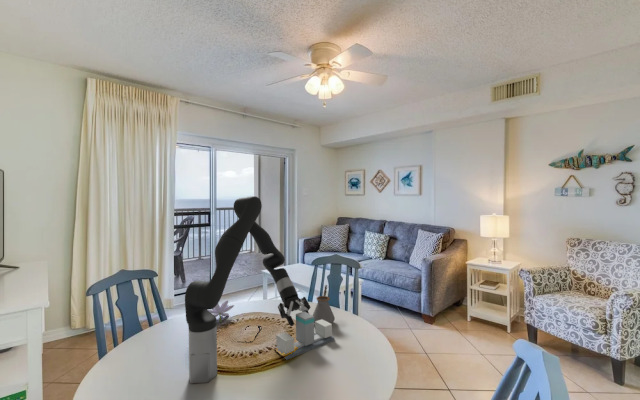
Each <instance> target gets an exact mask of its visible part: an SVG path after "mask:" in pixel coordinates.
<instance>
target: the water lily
mask: <svg viewBox="0 0 640 400" xmlns="http://www.w3.org/2000/svg"><path fill="white" fill-rule="evenodd" d="M228 303H229V300H225V301H224V302H223V303H221V304H219V303H218V304H217V305H216V307H214V308H213V309H207V310H208V311H209V312H210V313H212V314H213V315H214V316H215V317H216V318H217V317H219V323H220V322H222V318H221V317H228V316H230V315H229V314H230V313H227V312H229V311H230V310H232V309H233V308H234V307H235V305H233V304H232V305H230V306H229V304H228Z"/></svg>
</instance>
